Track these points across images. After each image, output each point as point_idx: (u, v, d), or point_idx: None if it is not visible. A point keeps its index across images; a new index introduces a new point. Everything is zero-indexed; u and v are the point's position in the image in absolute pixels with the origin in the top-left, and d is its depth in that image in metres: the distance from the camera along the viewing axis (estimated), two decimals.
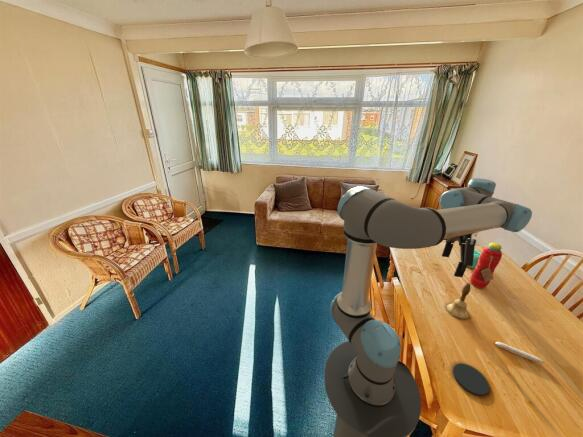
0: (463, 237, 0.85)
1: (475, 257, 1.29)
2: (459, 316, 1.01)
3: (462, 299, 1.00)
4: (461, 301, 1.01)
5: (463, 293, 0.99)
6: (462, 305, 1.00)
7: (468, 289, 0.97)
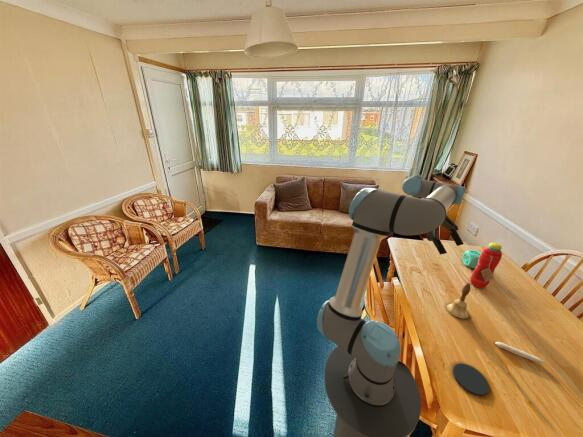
0: None
1: (475, 257, 1.29)
2: (459, 316, 1.01)
3: (462, 299, 1.00)
4: (461, 301, 1.01)
5: (463, 293, 0.99)
6: (462, 305, 1.00)
7: (468, 289, 0.97)
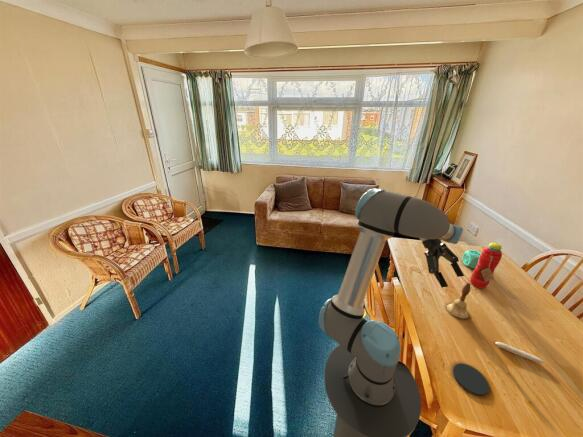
0: None
1: (475, 257, 1.29)
2: (459, 316, 1.01)
3: (462, 299, 1.00)
4: (461, 301, 1.01)
5: (463, 293, 0.99)
6: (462, 305, 1.00)
7: (468, 289, 0.97)
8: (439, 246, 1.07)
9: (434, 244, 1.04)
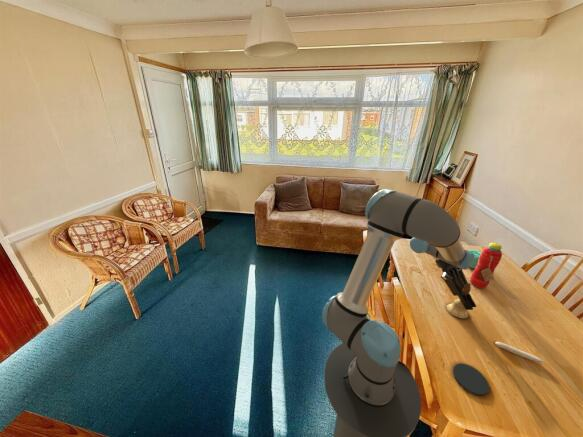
0: None
1: (475, 257, 1.29)
2: (459, 316, 1.01)
3: None
4: None
5: (463, 293, 0.99)
6: (462, 305, 1.00)
7: (468, 289, 0.97)
8: (453, 265, 1.03)
9: (448, 264, 1.00)
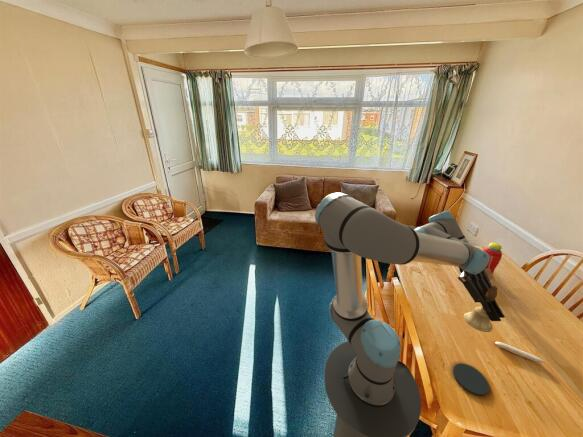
0: None
1: None
2: (480, 329, 0.77)
3: None
4: None
5: (487, 299, 0.76)
6: (486, 315, 0.77)
7: (494, 294, 0.74)
8: None
9: None
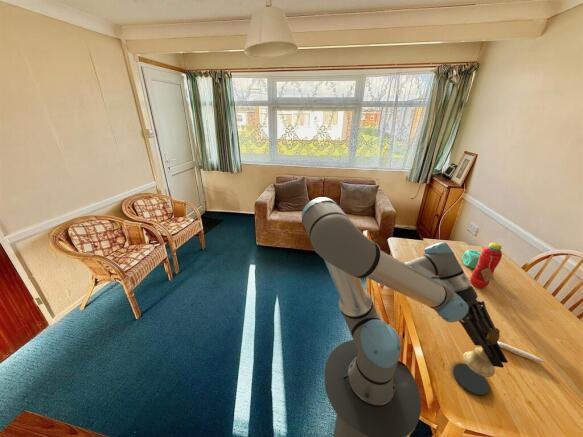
0: None
1: (475, 257, 1.29)
2: (481, 373, 0.71)
3: None
4: None
5: None
6: (487, 358, 0.70)
7: (496, 337, 0.67)
8: (473, 301, 0.73)
9: (467, 300, 0.70)
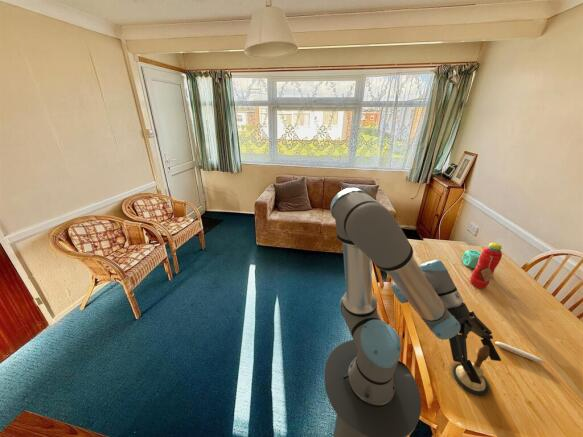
0: None
1: (475, 257, 1.29)
2: (472, 387, 0.74)
3: (477, 365, 0.74)
4: (476, 367, 0.74)
5: (479, 358, 0.73)
6: (477, 373, 0.74)
7: (486, 354, 0.71)
8: (466, 317, 0.76)
9: (460, 317, 0.73)
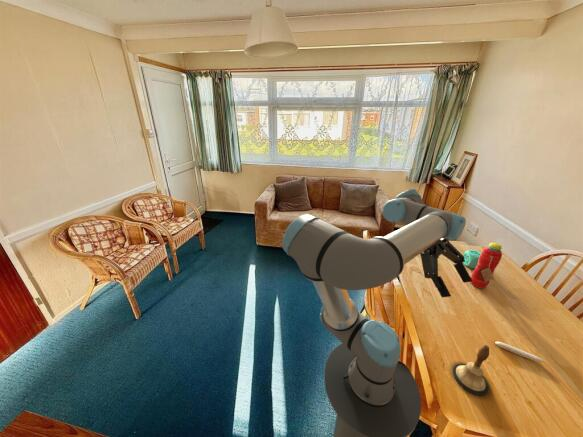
0: None
1: (475, 257, 1.29)
2: (472, 387, 0.74)
3: (477, 365, 0.74)
4: (476, 367, 0.74)
5: (479, 358, 0.73)
6: (477, 373, 0.74)
7: (486, 354, 0.71)
8: (439, 241, 0.79)
9: None
